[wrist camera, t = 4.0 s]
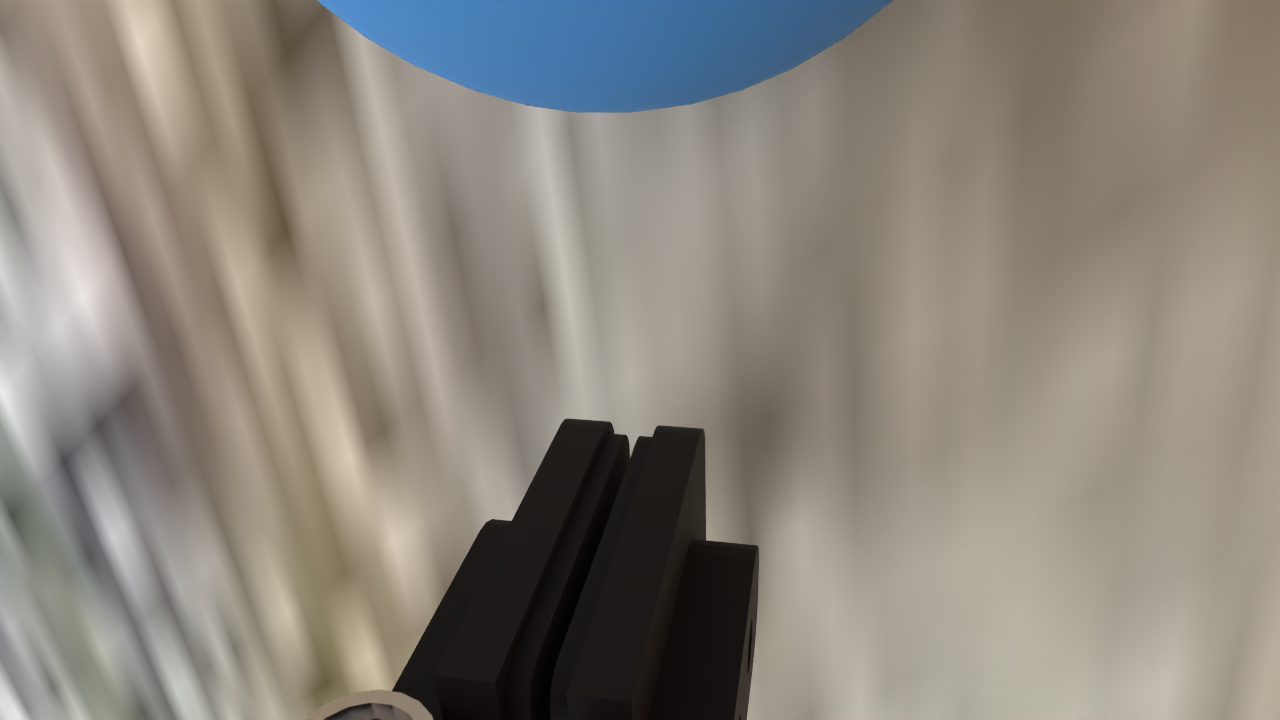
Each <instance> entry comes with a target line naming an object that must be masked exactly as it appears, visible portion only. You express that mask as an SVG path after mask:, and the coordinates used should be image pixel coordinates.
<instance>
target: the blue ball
mask: <svg viewBox="0 0 1280 720" xmlns="http://www.w3.org/2000/svg"><path fill="white" fill-rule="evenodd" d="M317 1H319V2H320V3H321V4H322V5H323V6H324V7H326V8H327V9H328V10H330V11H331V12H332V13H334V14H335V15H337V16H338V17H339V18H341V19H342V20H343V21H345V22H346V23H347V24H349V25H350V26H351V27H353V28H354V29H355V30H357V31H358V32H359V33H361V34H362V35H363V36H365V37H366V38H368V39H369V40H371V41H373V42H374V43H376V44H378V45H380V46H381V47H383V48H385V49H387V50H388V51H390V52H392V53H394V54H395V55H397V56H399V57H400V58H402V59H404V60H406V61H407V62H409V63H411V64H413V65H415V66H417V67H419V68H422V69H424V70H426V71H429V72H431V73H434V74H436V75H438V76H441V77H443V78H445V79H448V80H450V81H452V82H455V83H457V84H460V85H462V86H465V87H467V88H470V89H472V90H475V91H477V92H481V93H484V94H488V95H492V96H495V97H499V98H502V99H506V100H510V101H513V102H517V103H520V104H524V105H528V106H535V107H542V108H549V109H557V110H564V111H571V112H636V111H644V110H651V109H658V108H666V107H673V106H680V105H688V104H693V103H697V102H700V101H704V100H708V99H711V98H715V97H718V96H722V95H726V94H729V93H733V92H737V91H740V90H743V89H745V88H748V87H750V86H753V85H755V84H757V83H760V82H762V81H764V80H767V79H769V78H771V77H774V76H776V75H778V74H781V73H783V72H785V71H788V70H790V69H792V68H794V67H796V66H798V65H799V64H801V63H803V62H804V61H806V60H808V59H810V58H811V57H813V56H815V55H816V54H818V53H820V52H821V51H823V50H825V49H827V48H828V47H830V46H832V45H833V44H835V43H837V42H839V41H840V40H842V39H843V38H845V37H846V36H847V35H849V34H850V33H851V32H853V31H854V30H855V29H856V28H858V27H859V26H860V25H862V24H863V23H864V22H866V21H867V20H868V19H869V18H871V17H872V16H873V15H875V14H876V13H877V12H879V11H880V10H881V9H883V8H884V7H885V6H886V5H888V4H889V3H890V2H892V1H893V0H317Z"/></svg>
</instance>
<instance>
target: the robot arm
mask: <svg viewBox="0 0 1280 720" xmlns="http://www.w3.org/2000/svg"><path fill="white" fill-rule="evenodd" d="M758 573H759V547H758V546H756V545H746V544H736V543H726V542H716V541H706V491H705V434H704V430H703V429H699V428H686V427H672V426H657V427H656V429H655V432H654V435H653V437H645V436H640V437H638V439H637V441H636V444H635V447H634V450H633V452H632V455H631V458H630V451H629V440H628V437H627V436H626V435H620V434H614V429H613V426H612V424H611V422H606V421H593V420H579V419H565V420H564V421H563V422H562V424H561V425H560V427H559V429H558V431H557V433H556V435H555V437H554V439H553V441H552V443H551V445H550V447H549V449H548V451H547V453H546V455H545V457H544V459H543V461H542V463H541V465H540V467H539V469H538V471H537V473H536V475H535V476H534V478H533V480H532V482H531V484H530V486H529V488H528V490H527V492H526V494H525V496H524V498H523V500H522V502H521V504H520V506H519V508H518V510H517V512H516V514H515V516H514V518H513V520H512V521H505V520H495V519H492V520H490V521H488V522H486V523H485V525H484V526H483V528H482V529H481V530H480V532H479V534H478V535H477V537H476V539H475V541H474V543H473V545H472V546H471V548H470V550H469V552H468V554H467V555H466V557H465V559H464V561H463V563H462V565H461V566H460V568H459V570H458V572H457V574H456V575H455V577H454V579H453V581H452V583H451V585H450V586H449V588H448V590H447V592H446V594H445V595H444V597H443V599H442V601H441V603H440V605H439V606H438V608H437V610H436V612H435V614H434V615H433V617H432V619H431V621H430V623H429V625H428V626H427V628H426V630H425V632H424V634H423V635H422V637H421V639H420V641H419V643H418V645H417V646H416V648H415V650H414V652H413V654H412V655H411V657H410V659H409V661H408V663H407V665H406V666H405V668H404V670H403V672H402V674H401V675H400V677H399V679H398V681H397V683H396V685H395V686H394V688H393V690H392V691H385V690H373V691H365V692H356V693H353V694H350V695H347V696H345V697H342V698H339V699H336V700H333V701H331V702H329V703H328V704H326V705H324V706H323V707H321V708H319V709H318V710H316V711H315V712H313V713H311V714H310V715H308V716H307V717H306V718H305V719H304V720H746V719H747V711H748V702H749V694H750V685H751V676H752V668H753V658H754V647H755V635H756V621H757V603H758Z"/></svg>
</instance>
